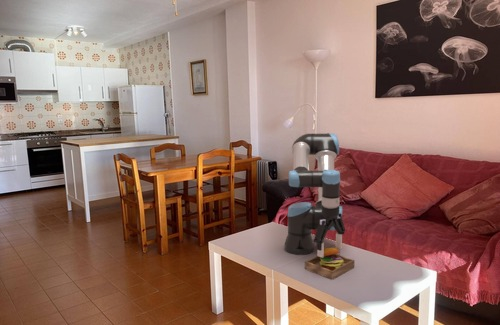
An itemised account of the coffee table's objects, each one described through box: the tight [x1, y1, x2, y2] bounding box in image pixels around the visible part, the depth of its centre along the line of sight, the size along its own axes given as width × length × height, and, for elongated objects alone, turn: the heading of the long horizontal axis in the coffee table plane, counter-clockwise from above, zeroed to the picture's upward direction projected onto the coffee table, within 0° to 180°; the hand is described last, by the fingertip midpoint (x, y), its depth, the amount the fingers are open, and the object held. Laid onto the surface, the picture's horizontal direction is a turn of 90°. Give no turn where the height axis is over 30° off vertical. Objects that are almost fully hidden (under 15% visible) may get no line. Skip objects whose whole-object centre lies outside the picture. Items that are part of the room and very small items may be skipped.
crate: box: [304, 254, 355, 280], centre depth 169 cm, size 15×17×3 cm
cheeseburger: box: [320, 246, 344, 270], centre depth 169 cm, size 10×11×10 cm
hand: (329, 252), depth 169 cm, fingers open, 13 cm apart
